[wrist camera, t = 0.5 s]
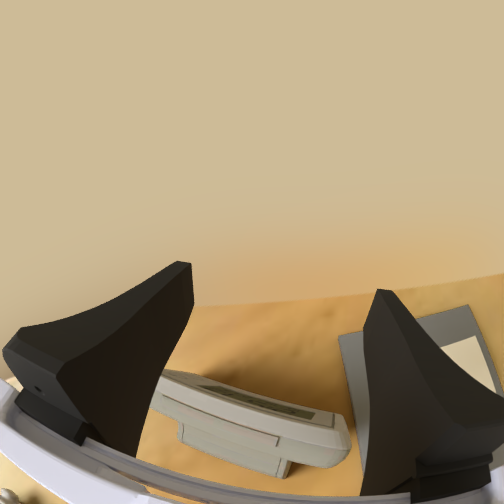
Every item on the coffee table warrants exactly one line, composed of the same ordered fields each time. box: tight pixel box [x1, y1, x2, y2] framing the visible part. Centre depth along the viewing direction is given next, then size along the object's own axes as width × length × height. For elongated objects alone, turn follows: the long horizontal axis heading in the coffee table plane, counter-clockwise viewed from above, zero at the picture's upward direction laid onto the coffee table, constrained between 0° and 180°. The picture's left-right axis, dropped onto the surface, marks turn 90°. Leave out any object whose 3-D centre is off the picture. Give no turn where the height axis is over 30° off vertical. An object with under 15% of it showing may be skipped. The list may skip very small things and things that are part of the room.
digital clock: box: [149, 369, 352, 479], centre depth 20 cm, size 16×9×11 cm, turn 58°
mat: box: [338, 305, 504, 477], centre depth 21 cm, size 20×16×1 cm
